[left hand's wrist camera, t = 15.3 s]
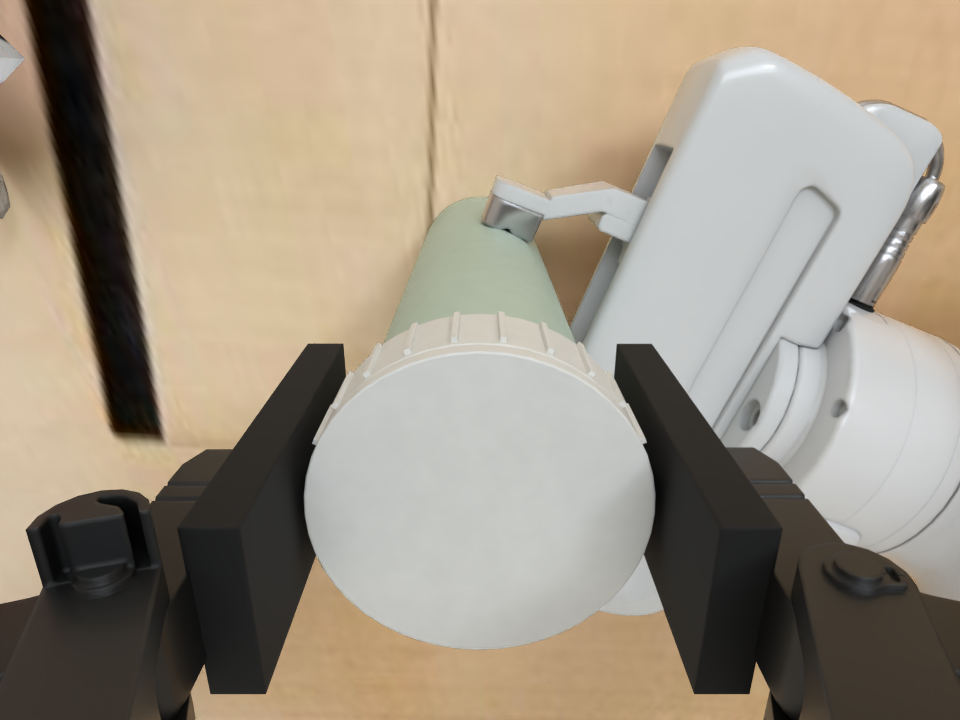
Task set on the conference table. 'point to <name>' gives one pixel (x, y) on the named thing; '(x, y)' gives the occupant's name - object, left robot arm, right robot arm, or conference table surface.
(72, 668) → the left robot arm
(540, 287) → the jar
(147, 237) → the conference table surface
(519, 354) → the lid
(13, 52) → the fish
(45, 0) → the conference table surface
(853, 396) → the right robot arm
